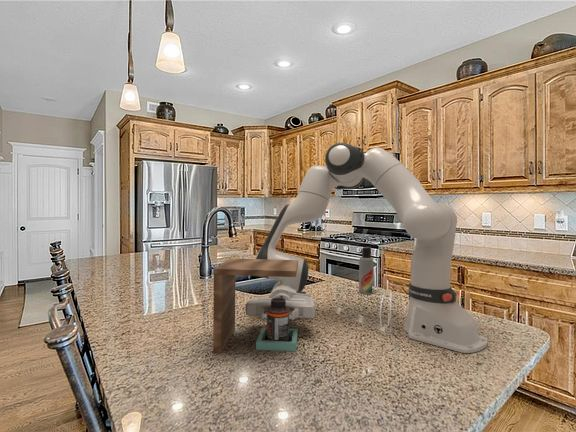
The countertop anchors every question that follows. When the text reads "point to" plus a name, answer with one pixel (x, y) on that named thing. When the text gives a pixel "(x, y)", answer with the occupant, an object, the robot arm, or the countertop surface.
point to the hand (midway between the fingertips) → (277, 316)
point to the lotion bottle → (366, 272)
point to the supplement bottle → (278, 320)
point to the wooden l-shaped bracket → (226, 290)
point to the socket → (277, 342)
